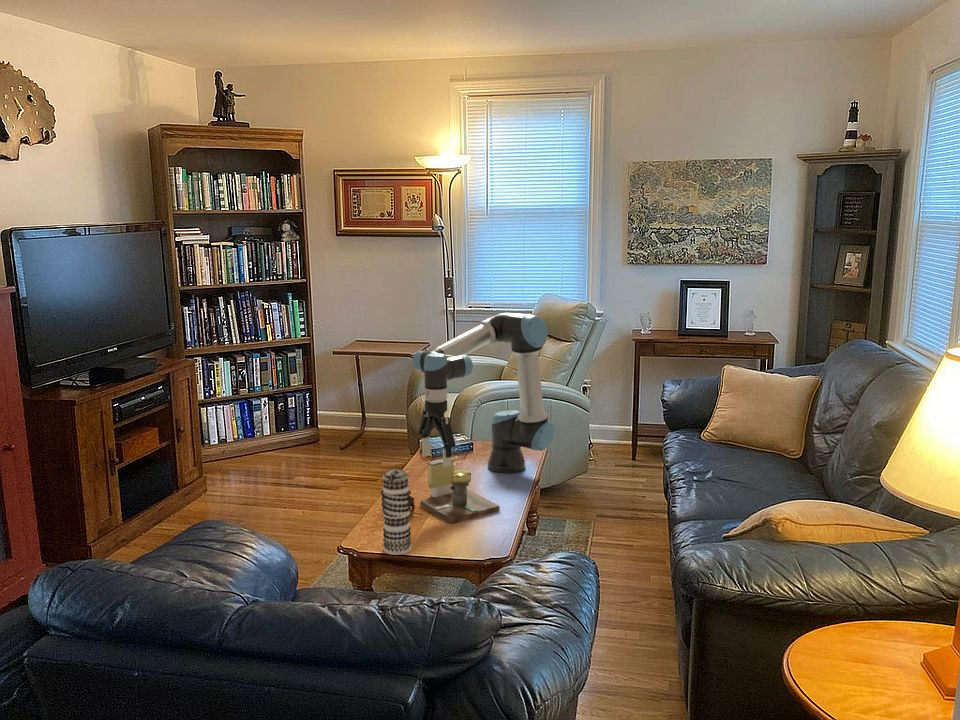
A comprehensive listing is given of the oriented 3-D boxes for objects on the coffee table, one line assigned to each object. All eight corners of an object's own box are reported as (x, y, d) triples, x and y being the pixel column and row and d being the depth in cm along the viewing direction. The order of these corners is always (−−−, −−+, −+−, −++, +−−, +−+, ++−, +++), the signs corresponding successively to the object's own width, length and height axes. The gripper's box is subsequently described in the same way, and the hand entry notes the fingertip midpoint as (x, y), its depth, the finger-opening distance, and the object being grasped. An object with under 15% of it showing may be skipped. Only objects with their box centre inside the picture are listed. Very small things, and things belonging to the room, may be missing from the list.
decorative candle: (387, 557, 239) (385, 478, 234) (378, 545, 247) (376, 469, 243) (416, 552, 243) (414, 474, 238) (406, 540, 251) (404, 465, 246)
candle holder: (452, 500, 285) (452, 468, 283) (426, 499, 287) (425, 467, 284) (458, 491, 294) (458, 460, 292) (432, 490, 296) (432, 459, 294)
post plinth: (467, 494, 291) (467, 468, 289) (499, 511, 275) (499, 483, 273) (420, 506, 280) (420, 479, 278) (450, 524, 264) (450, 495, 262)
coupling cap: (462, 475, 281) (462, 452, 279) (475, 481, 275) (475, 458, 273) (423, 484, 272) (423, 460, 271) (435, 490, 266) (435, 467, 264)
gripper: (407, 394, 273) (408, 453, 277) (446, 409, 253) (446, 472, 257) (426, 391, 277) (427, 450, 281) (465, 405, 257) (465, 468, 261)
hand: (436, 460), depth 269 cm, fingers open, 13 cm apart
